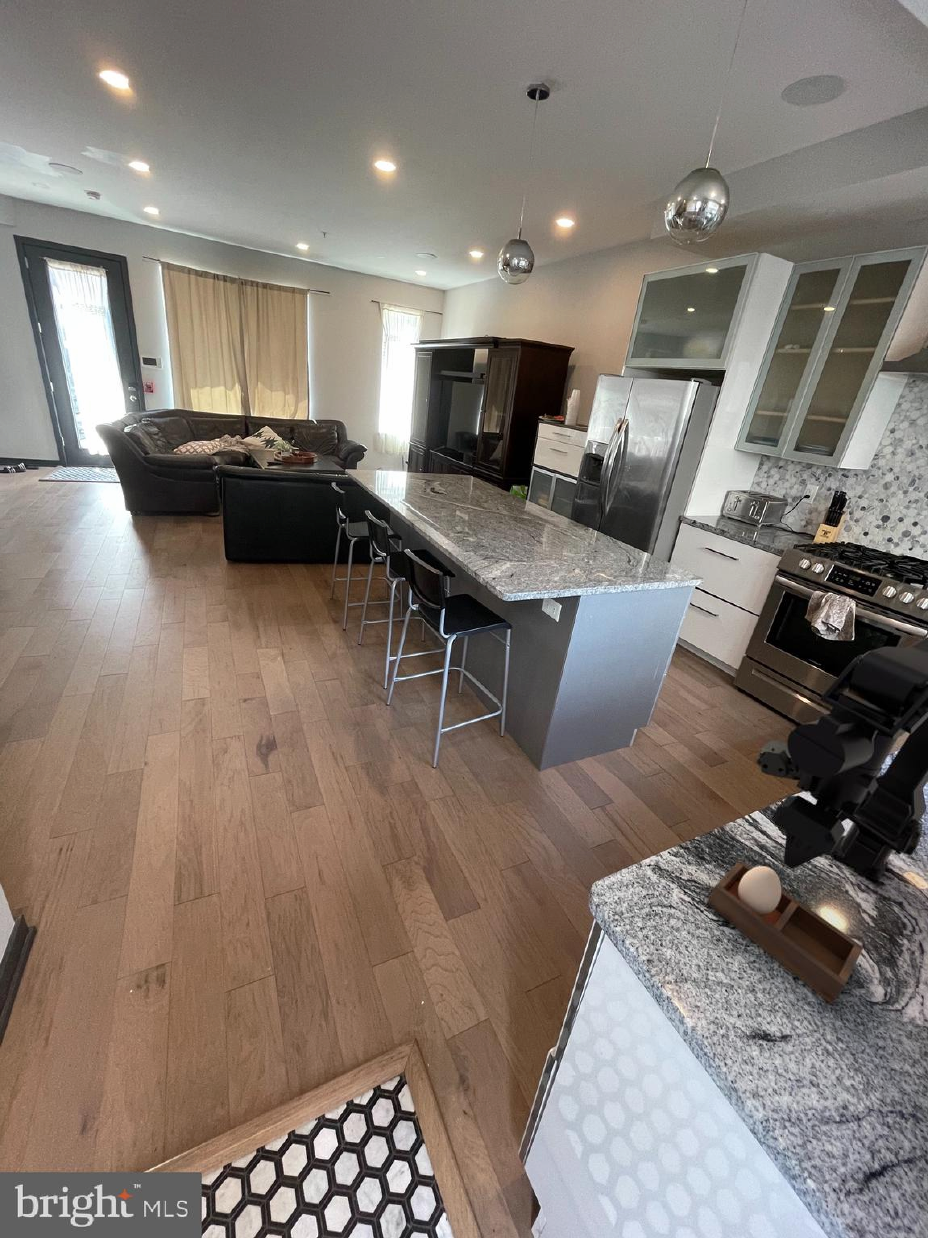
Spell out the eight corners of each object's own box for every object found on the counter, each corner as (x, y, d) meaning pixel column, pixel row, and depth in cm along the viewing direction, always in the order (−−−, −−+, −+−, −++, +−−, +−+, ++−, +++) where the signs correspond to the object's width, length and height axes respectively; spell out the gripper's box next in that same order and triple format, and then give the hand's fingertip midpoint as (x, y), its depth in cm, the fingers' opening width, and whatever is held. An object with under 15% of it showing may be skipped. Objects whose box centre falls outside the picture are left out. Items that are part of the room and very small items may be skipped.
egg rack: (731, 876, 75) (740, 859, 73) (851, 965, 64) (863, 947, 63) (706, 904, 70) (714, 886, 68) (831, 1005, 59) (844, 986, 58)
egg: (757, 931, 66) (779, 891, 63) (724, 902, 69) (744, 863, 67) (775, 916, 69) (796, 877, 66) (742, 889, 72) (761, 851, 69)
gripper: (806, 700, 72) (766, 786, 78) (751, 740, 60) (709, 838, 66) (902, 744, 64) (849, 835, 70) (860, 799, 52) (801, 903, 59)
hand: (801, 849), depth 66 cm, fingers open, 9 cm apart
